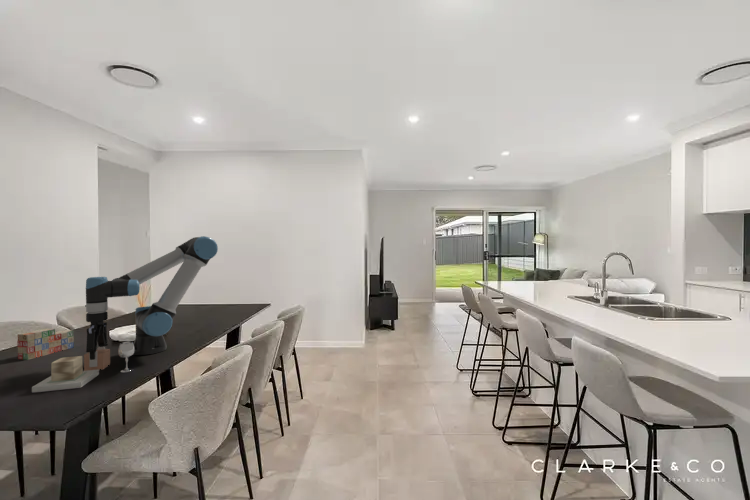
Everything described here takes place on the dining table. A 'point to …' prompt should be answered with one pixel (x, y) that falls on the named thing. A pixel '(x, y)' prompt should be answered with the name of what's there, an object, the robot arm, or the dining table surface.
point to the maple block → (66, 368)
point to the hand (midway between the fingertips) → (97, 363)
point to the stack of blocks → (43, 342)
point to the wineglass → (126, 352)
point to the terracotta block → (102, 358)
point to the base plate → (65, 382)
